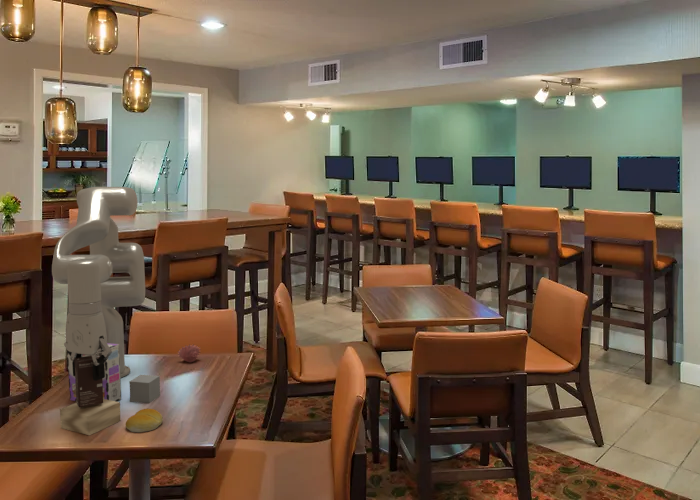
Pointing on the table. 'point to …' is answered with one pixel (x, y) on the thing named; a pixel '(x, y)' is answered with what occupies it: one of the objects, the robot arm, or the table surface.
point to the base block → (90, 417)
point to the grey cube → (144, 388)
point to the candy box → (109, 381)
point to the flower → (189, 353)
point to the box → (87, 383)
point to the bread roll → (144, 420)
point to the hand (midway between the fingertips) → (89, 376)
